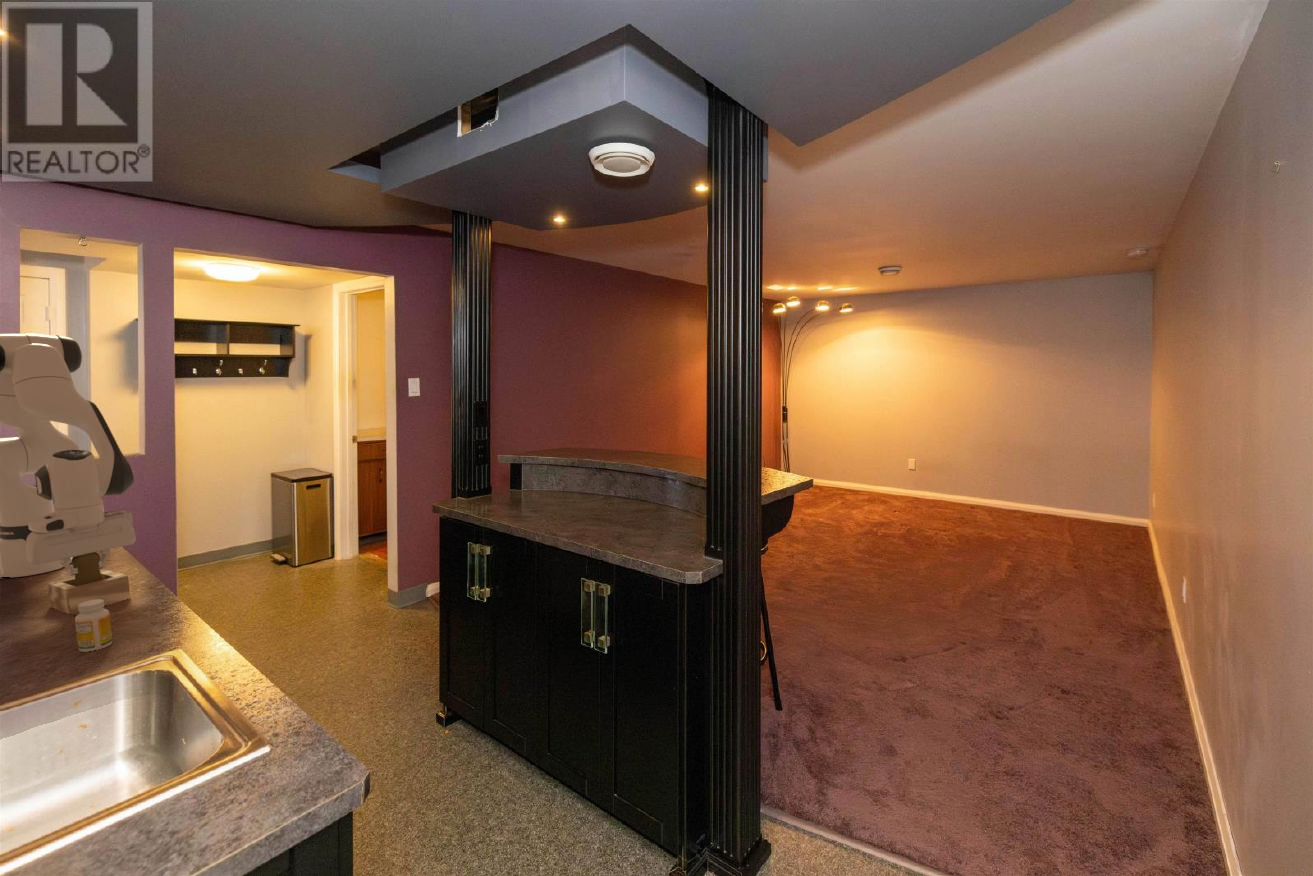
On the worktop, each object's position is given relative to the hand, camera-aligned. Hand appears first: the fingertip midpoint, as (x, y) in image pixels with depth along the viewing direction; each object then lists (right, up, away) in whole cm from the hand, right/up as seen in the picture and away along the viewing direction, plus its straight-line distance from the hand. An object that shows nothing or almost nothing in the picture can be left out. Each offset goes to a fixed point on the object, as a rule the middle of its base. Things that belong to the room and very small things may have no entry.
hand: (87, 571), depth 153 cm
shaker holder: (0, -8, +1) cm, 8 cm away
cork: (0, -7, +1) cm, 7 cm away
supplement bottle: (+24, -11, -24) cm, 35 cm away
